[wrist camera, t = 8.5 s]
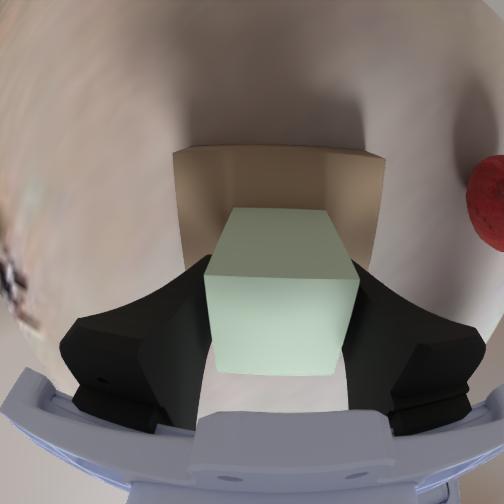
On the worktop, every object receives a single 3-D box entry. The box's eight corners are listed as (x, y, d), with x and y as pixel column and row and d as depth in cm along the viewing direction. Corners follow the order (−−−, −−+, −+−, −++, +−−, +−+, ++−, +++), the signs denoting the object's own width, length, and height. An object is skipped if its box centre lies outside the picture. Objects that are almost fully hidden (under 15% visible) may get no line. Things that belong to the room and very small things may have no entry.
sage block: (316, 287, 15) (332, 375, 9) (236, 284, 15) (217, 371, 10) (325, 210, 12) (360, 279, 7) (233, 207, 13) (203, 274, 8)
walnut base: (344, 296, 18) (353, 324, 16) (204, 291, 19) (193, 319, 16) (365, 151, 14) (385, 159, 11) (190, 146, 14) (172, 153, 12)
